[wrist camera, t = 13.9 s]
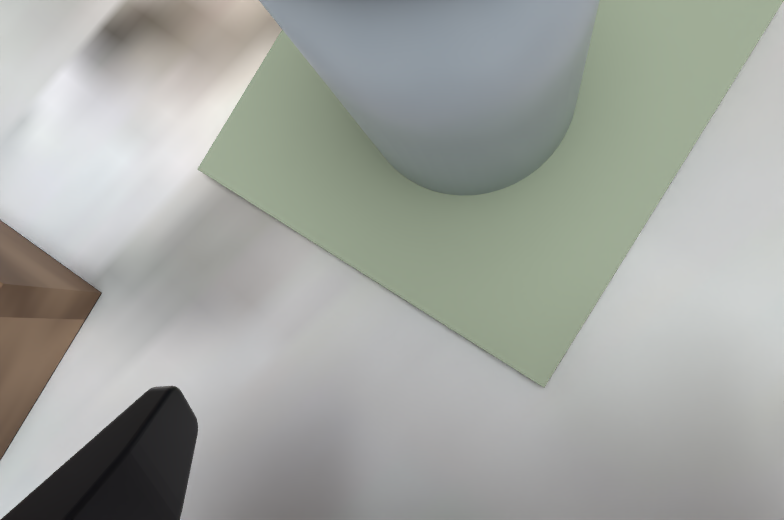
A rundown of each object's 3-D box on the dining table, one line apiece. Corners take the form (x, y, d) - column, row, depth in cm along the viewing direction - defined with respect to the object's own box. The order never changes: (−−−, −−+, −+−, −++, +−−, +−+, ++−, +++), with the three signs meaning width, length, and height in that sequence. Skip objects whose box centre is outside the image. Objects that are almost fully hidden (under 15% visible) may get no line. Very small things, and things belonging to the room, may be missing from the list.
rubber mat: (543, 385, 18) (543, 387, 17) (206, 174, 20) (197, 169, 20) (776, 8, 18) (785, -3, 17) (406, -155, 20) (402, -169, 20)
